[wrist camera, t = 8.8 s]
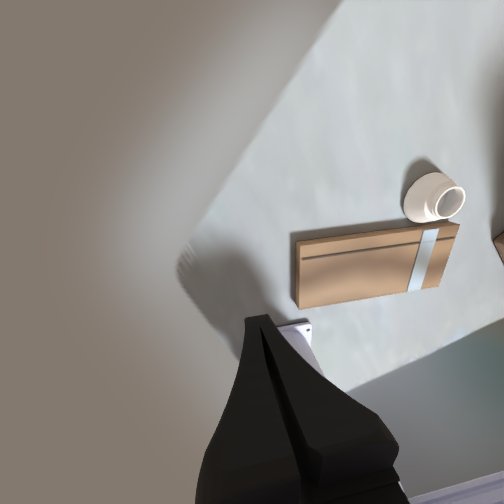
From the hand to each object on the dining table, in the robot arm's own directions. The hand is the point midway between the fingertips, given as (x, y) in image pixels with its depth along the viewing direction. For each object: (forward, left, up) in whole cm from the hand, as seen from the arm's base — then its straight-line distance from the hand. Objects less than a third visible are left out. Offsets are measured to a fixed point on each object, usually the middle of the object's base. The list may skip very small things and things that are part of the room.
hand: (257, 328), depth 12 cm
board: (-3, -15, -10) cm, 19 cm away
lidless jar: (+4, -20, -11) cm, 23 cm away
